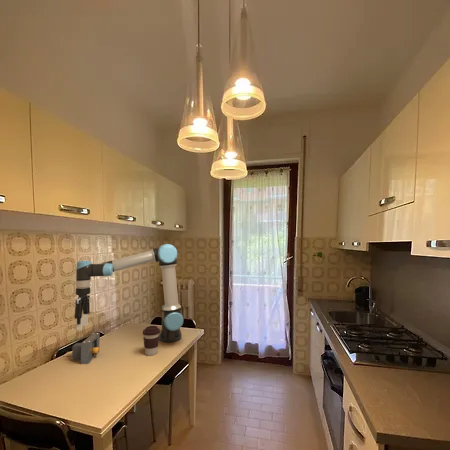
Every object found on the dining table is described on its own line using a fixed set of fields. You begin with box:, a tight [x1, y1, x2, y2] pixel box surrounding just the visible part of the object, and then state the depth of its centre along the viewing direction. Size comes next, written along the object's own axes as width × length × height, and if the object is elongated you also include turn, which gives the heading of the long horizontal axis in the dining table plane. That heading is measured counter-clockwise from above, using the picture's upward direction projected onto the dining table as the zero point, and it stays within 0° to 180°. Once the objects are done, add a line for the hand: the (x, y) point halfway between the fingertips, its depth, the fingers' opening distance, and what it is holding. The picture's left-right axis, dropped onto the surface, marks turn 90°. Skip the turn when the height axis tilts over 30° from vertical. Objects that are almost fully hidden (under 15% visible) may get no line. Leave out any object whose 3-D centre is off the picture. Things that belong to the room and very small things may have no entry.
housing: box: [80, 332, 100, 365], centre depth 149 cm, size 4×16×11 cm, turn 6°
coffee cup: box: [142, 325, 161, 357], centre depth 154 cm, size 10×10×15 cm
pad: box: [63, 351, 72, 357], centre depth 154 cm, size 9×6×1 cm, turn 96°
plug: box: [71, 342, 100, 362], centre depth 149 cm, size 13×5×8 cm, turn 99°
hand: (82, 327), depth 150 cm, fingers open, 7 cm apart
